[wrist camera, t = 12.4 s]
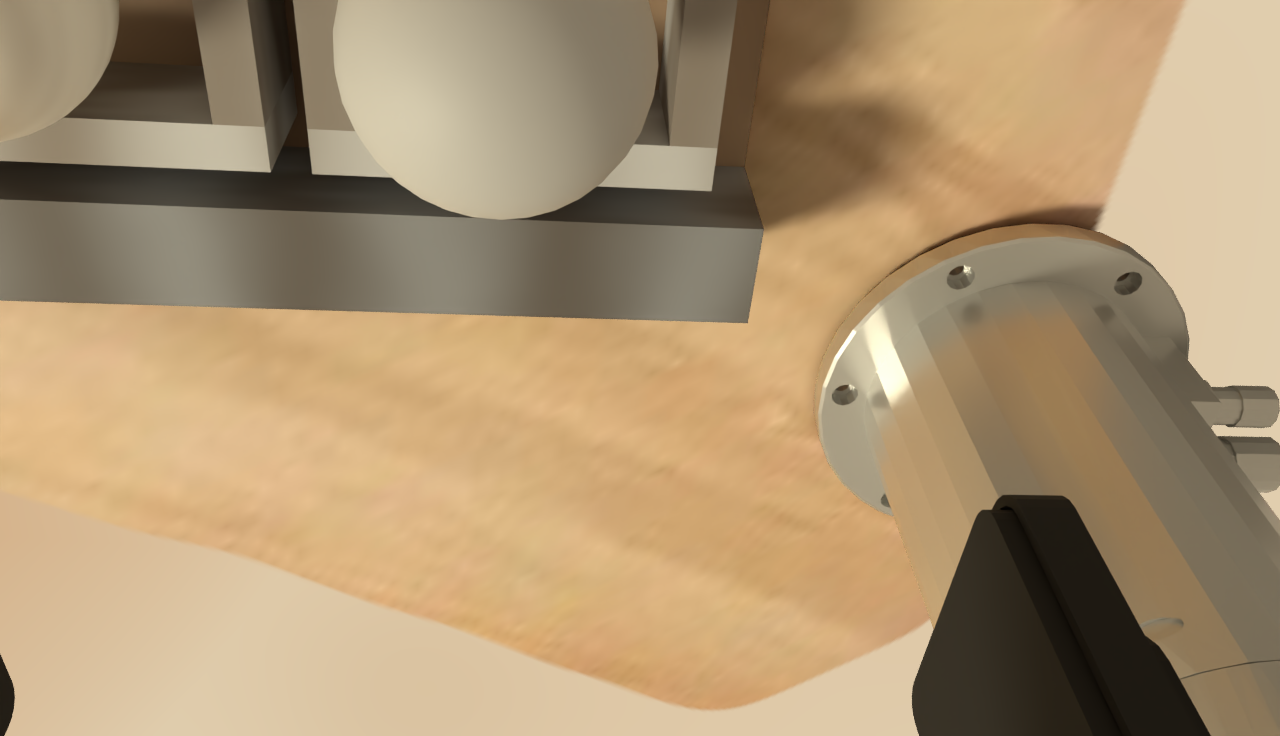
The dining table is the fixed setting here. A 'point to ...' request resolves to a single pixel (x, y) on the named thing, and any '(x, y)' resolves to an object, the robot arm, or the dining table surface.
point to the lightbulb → (496, 95)
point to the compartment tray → (344, 175)
